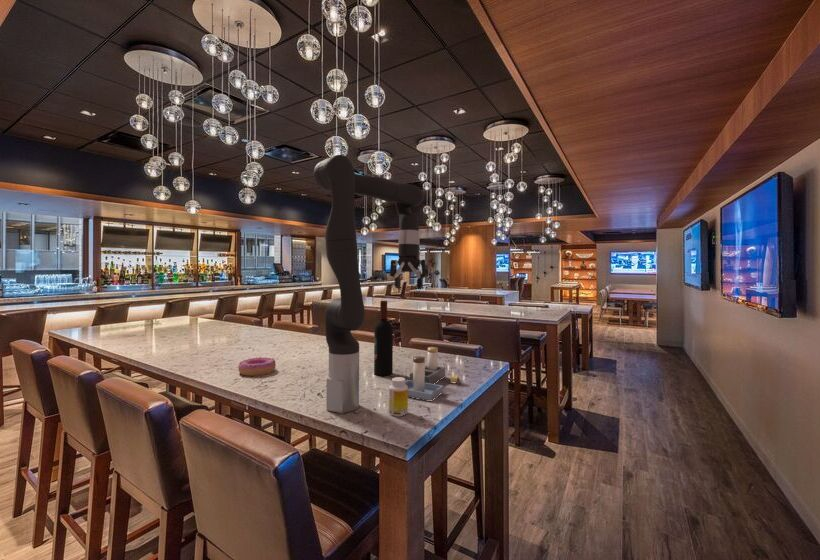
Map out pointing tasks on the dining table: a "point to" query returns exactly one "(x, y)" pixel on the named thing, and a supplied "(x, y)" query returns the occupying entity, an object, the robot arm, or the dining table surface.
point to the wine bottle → (383, 344)
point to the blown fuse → (419, 373)
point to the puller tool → (453, 378)
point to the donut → (257, 366)
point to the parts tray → (429, 393)
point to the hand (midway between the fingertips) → (408, 288)
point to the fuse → (432, 359)
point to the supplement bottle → (398, 397)
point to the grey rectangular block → (432, 375)
